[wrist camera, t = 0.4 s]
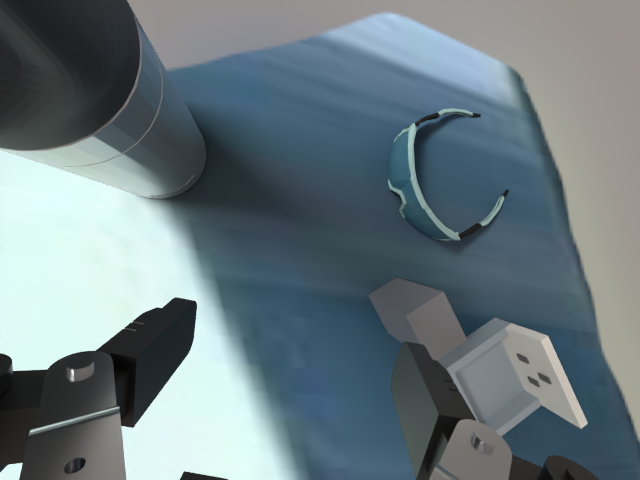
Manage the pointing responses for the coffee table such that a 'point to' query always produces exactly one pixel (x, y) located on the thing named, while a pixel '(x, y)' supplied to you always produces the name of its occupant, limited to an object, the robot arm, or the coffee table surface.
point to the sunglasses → (409, 190)
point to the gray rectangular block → (418, 316)
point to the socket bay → (511, 376)
